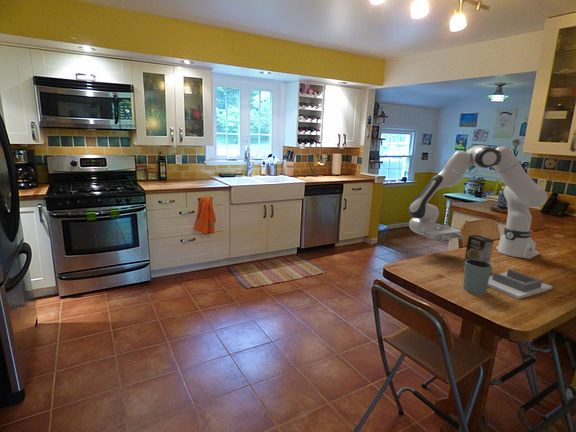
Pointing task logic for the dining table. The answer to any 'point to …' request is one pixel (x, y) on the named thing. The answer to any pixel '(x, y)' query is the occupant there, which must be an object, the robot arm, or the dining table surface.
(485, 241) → the coffee box
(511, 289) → the white base plate
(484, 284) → the ceramic plant pot
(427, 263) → the dining table surface
